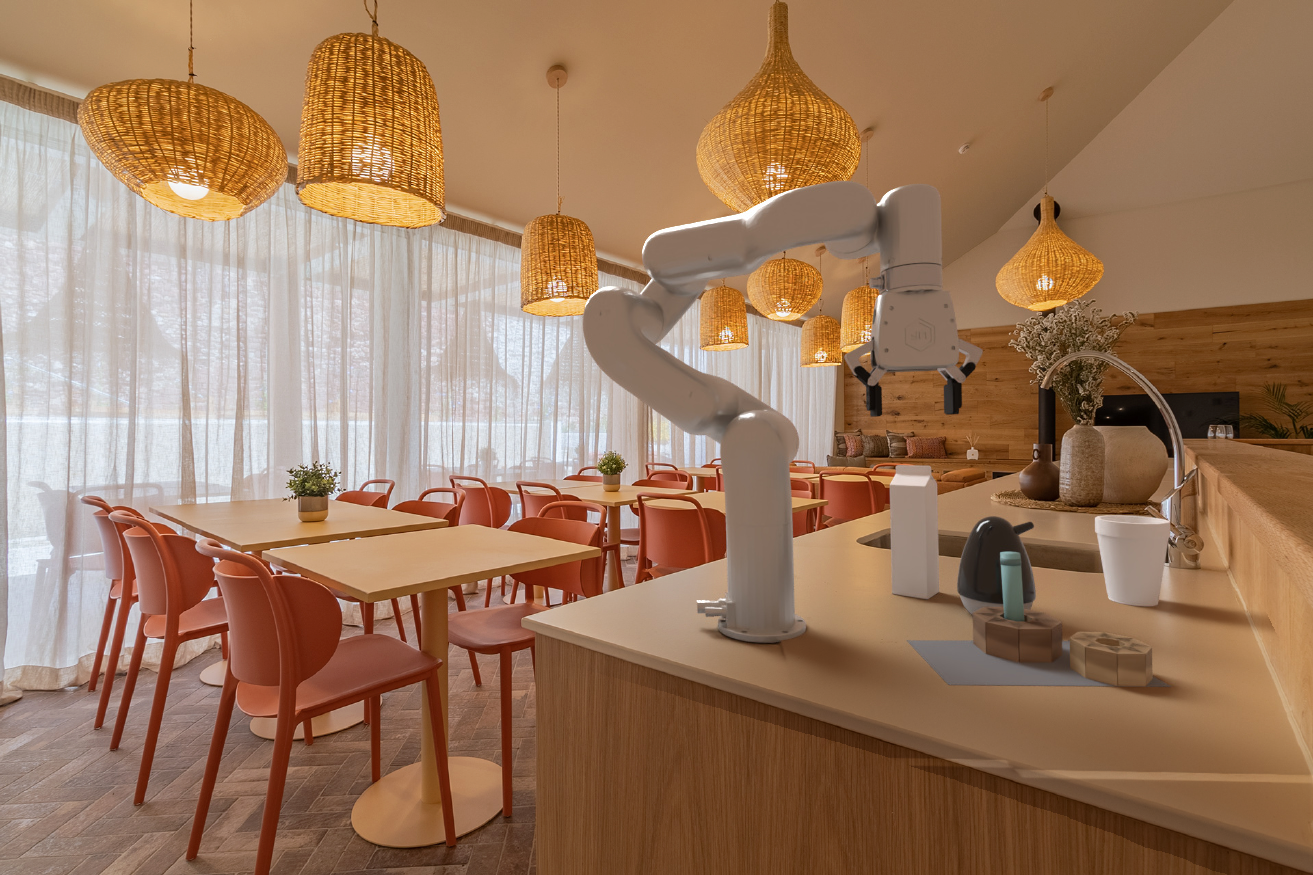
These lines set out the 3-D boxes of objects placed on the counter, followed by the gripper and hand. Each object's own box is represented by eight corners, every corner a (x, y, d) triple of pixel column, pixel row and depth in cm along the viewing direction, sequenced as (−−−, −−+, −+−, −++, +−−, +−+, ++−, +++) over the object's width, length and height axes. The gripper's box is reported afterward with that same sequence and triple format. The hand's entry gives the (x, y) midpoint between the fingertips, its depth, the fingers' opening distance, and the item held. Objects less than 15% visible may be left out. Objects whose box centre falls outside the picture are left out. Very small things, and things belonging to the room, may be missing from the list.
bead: (996, 662, 73) (995, 628, 73) (964, 636, 82) (963, 606, 82) (1075, 662, 72) (1075, 628, 72) (1034, 636, 81) (1034, 606, 81)
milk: (927, 600, 101) (925, 467, 100) (891, 594, 105) (888, 466, 104) (939, 591, 105) (937, 464, 105) (904, 586, 109) (901, 463, 109)
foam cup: (1166, 597, 99) (1165, 517, 99) (1176, 612, 91) (1175, 525, 91) (1094, 590, 104) (1092, 514, 104) (1098, 603, 96) (1097, 521, 96)
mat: (948, 689, 67) (948, 684, 67) (906, 644, 81) (906, 640, 81) (1171, 690, 65) (1171, 686, 65) (1089, 644, 79) (1089, 640, 79)
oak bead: (1097, 685, 66) (1096, 653, 66) (1059, 660, 73) (1059, 631, 72) (1166, 686, 65) (1166, 653, 65) (1122, 661, 72) (1121, 631, 72)
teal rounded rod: (1011, 651, 76) (1004, 554, 76) (1002, 645, 78) (996, 551, 78) (1030, 651, 75) (1024, 554, 76) (1021, 645, 78) (1015, 551, 78)
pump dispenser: (1050, 630, 84) (1048, 521, 84) (969, 628, 86) (967, 521, 86) (1021, 609, 94) (1020, 511, 94) (949, 607, 96) (947, 511, 96)
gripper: (850, 281, 77) (853, 416, 77) (993, 275, 76) (995, 412, 76) (837, 294, 84) (840, 417, 85) (967, 288, 83) (969, 414, 83)
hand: (913, 415), depth 80 cm, fingers open, 9 cm apart
